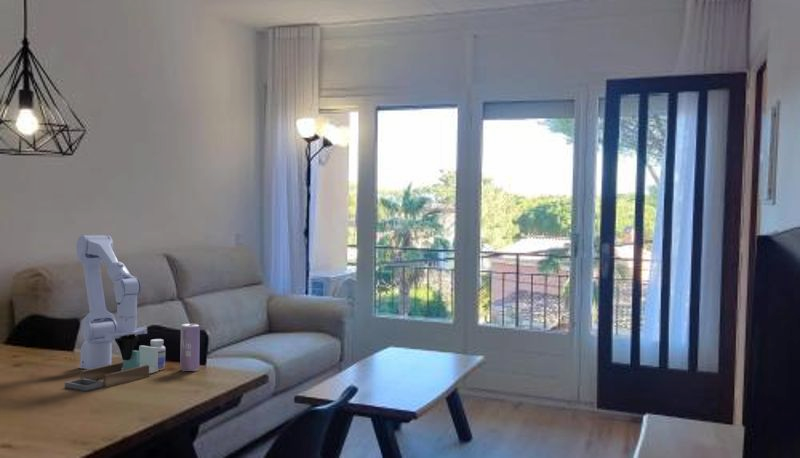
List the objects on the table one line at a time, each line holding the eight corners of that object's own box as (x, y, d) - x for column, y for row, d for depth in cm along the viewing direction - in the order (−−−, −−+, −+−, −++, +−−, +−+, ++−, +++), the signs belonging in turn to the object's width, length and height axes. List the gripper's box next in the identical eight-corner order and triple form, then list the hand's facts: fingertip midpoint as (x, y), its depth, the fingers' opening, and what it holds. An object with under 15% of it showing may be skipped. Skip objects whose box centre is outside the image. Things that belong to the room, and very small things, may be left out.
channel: (80, 382, 199) (80, 371, 199) (124, 372, 213) (124, 361, 213) (106, 387, 194) (106, 375, 194) (148, 376, 208) (149, 365, 208)
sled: (121, 373, 210) (121, 349, 210) (141, 368, 217) (142, 345, 217) (137, 376, 207) (138, 351, 207) (157, 371, 214) (158, 347, 214)
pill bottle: (143, 369, 217) (144, 340, 217) (157, 366, 222) (157, 337, 221) (155, 372, 214) (155, 342, 214) (168, 368, 219) (169, 339, 219)
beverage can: (202, 368, 220) (202, 323, 220) (194, 372, 215) (195, 326, 214) (184, 367, 221) (185, 323, 221) (177, 371, 215) (177, 325, 215)
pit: (64, 387, 193) (64, 382, 193) (82, 383, 198) (82, 378, 198) (85, 391, 189) (86, 386, 189) (103, 387, 194) (103, 382, 194)
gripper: (116, 320, 198) (116, 365, 199) (154, 314, 211) (153, 356, 212) (100, 318, 202) (99, 362, 202) (138, 312, 215) (137, 354, 215)
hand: (126, 359), depth 207 cm, fingers closed
